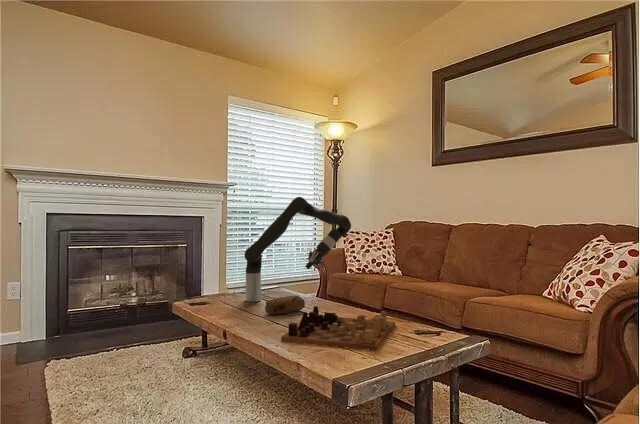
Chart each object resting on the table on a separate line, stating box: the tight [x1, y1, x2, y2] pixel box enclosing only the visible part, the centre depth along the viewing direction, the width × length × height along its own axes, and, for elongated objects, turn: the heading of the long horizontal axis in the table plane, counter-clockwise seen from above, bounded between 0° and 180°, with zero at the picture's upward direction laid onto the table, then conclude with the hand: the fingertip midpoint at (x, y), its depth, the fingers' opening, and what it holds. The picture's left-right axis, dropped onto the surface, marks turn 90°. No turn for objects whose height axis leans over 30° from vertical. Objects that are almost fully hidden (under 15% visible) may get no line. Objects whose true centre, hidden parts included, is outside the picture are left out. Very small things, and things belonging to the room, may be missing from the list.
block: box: [264, 295, 306, 315], centre depth 231 cm, size 11×8×20 cm
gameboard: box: [280, 305, 396, 351], centre depth 190 cm, size 40×40×9 cm
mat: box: [284, 310, 301, 316], centre depth 236 cm, size 20×8×1 cm, turn 37°
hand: (306, 268), depth 243 cm, fingers closed
